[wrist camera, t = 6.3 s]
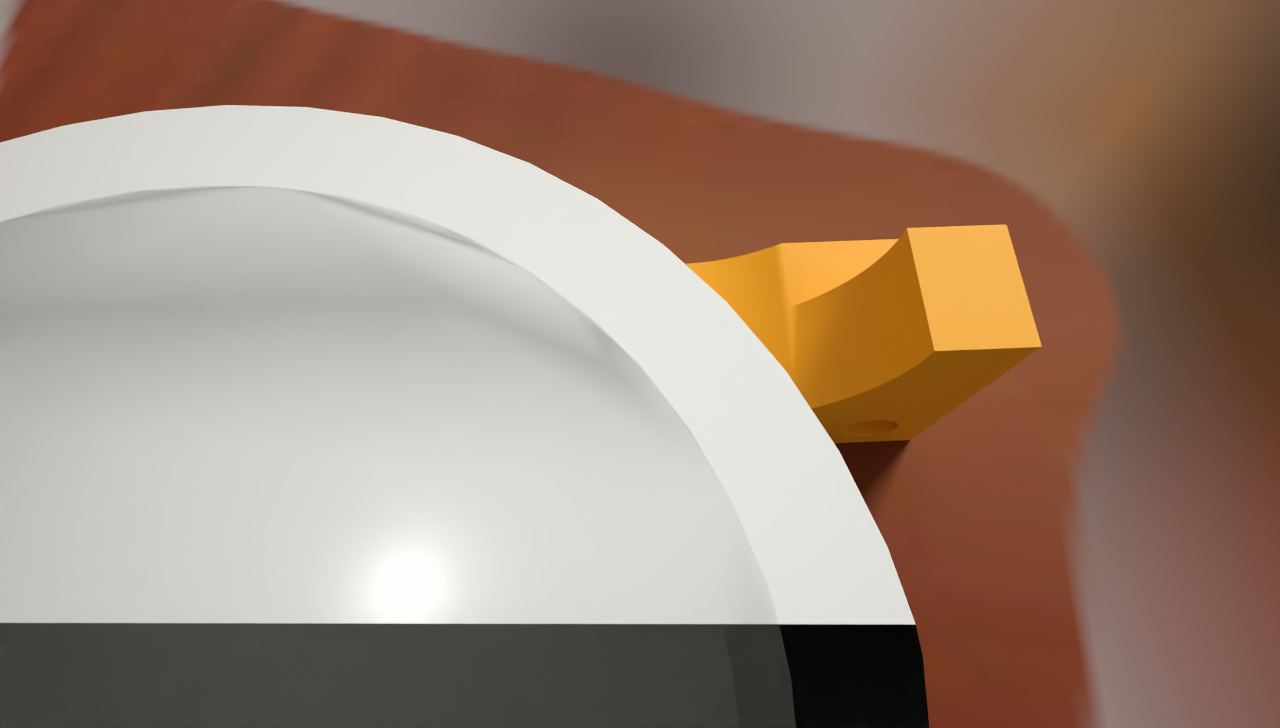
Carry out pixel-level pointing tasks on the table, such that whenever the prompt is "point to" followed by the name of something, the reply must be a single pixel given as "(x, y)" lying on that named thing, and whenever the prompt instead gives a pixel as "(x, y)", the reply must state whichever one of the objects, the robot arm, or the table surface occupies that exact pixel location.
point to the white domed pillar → (402, 452)
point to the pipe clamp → (885, 322)
